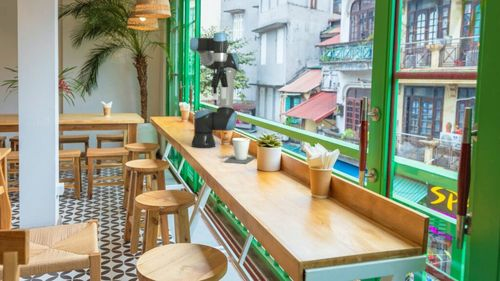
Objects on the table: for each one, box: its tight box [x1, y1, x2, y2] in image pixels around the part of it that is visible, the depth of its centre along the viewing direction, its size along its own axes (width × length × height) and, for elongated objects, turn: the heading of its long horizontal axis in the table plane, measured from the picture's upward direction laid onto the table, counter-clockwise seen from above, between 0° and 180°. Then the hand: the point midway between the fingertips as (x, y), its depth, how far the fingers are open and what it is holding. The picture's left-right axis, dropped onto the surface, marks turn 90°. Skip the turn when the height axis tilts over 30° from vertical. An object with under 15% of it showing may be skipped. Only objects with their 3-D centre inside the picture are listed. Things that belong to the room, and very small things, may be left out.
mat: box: [223, 155, 256, 165], centre depth 246 cm, size 18×12×1 cm, turn 164°
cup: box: [231, 137, 251, 160], centre depth 245 cm, size 10×10×11 cm
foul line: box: [220, 154, 235, 163], centre depth 249 cm, size 18×1×1 cm, turn 164°
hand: (219, 99), depth 260 cm, fingers open, 13 cm apart
